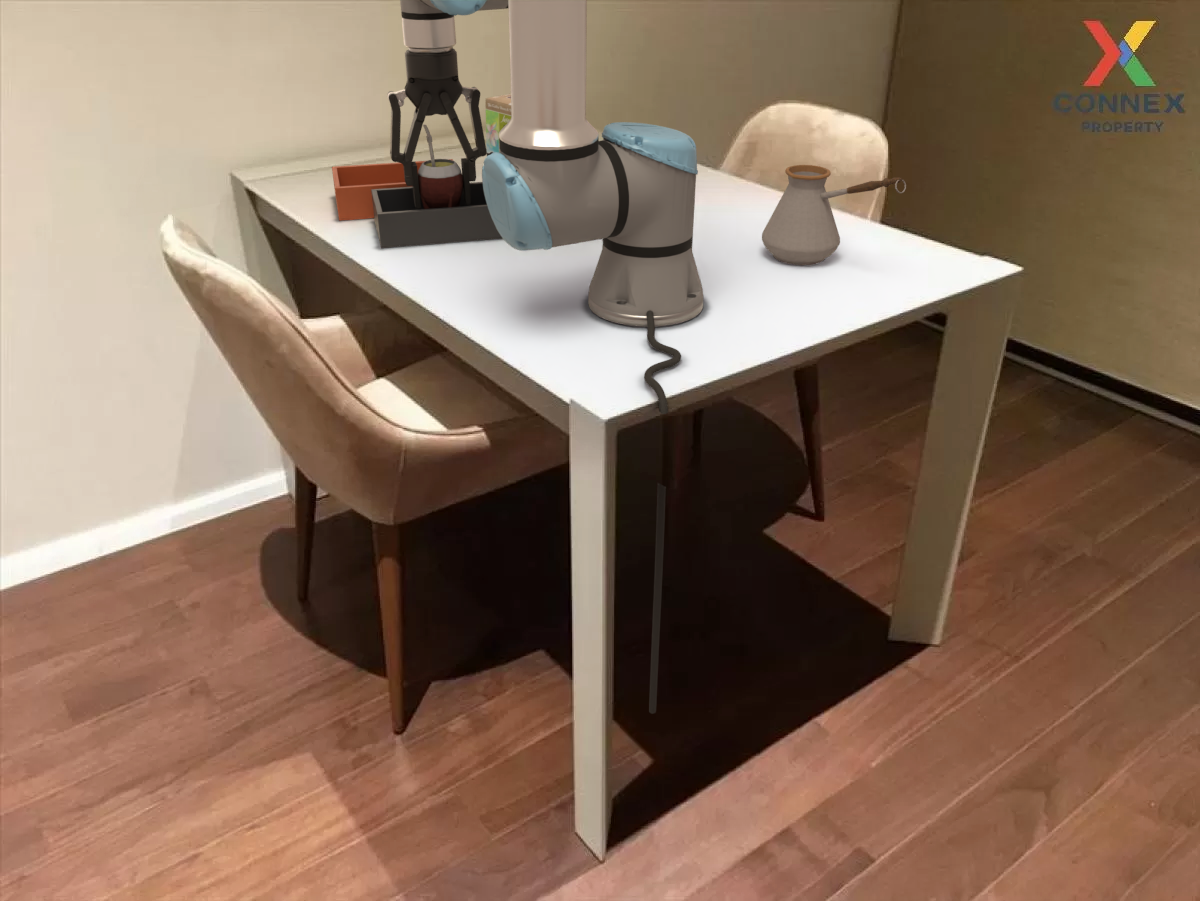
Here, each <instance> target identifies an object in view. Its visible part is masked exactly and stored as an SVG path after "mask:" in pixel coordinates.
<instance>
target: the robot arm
mask: <svg viewBox="0 0 1200 901" xmlns="http://www.w3.org/2000/svg"><path fill="white" fill-rule="evenodd" d="M399 2H400V3H399V4H400V13H401V26H402V37H403V46H404V47H406V48H408V49H406V50H405V52H404V61H405V72H406V84H405V86H404V89H400V90H397V91H394V90H389V91H388V92H387V93H386V94H387V96H386V97H387V99H388V103H389V105H390V138H389V156H390V159H391V161H392V162H393V163H398V162H399V163H402V164H403V168H404V179H405V183H406V185H407V186H412V187H413V198H414V205H415V207H416V208H421V205H420V193H419V182H418V171H417V164H416V162H415V161H413V160H414V156H415V153H416V149H417V146H418V142H419V140H420V135H421V131H422V129H423V125H424V122H425V119H426V117H432V116H435V115H440V116H447V118H448V120H449V122H450V124H451V126H452V128H453V130H454V133H455V136H456V138H457V139H458V142H459V144H460V146H461V148H462V151H463V153H464V154H465V157H463V158H462V157H461V158H460V164H461V167H460V168H461V173H462V176H463V182H464V183H463V196H464V201H465V203H466V205H468V204H471V195H470V183H471V182H476V180H477V170H476V169H477V167H476V166H477V165H476V161H477V159H479V158H481V157H485V156H486V157H485V158H484V160H483V165H482V168H481V182H483V189H484V195H485V199H486V203H487V206H488V209H489V212H490V215H491V217H492V220H493V222H494V224H495V226H496V228H497V230H498V232H499V234H500V235H501V237H502V238H503V241H504V242H505V243H506V244H507V245H509V246H510V247H511V248H512V249H515V250H517V251H522V252H524V251H535V250H545V251H549V250H551V249H552V248H559V247H564V246H569V245H574V244H575V245H576V244H580V243H587V242H592V241H598V240H602V245H601V251H600V254H599V258H598V260H597V263H596V267H595V269H594V272H593V276H592V278H591V281H590V284H589V288H588V302H587V303H588V307H589V309H590V311H591V312H592V313H593V314H594V315H596V316H597V317H600V318H601V319H603V320H606V321H608V322H612V323H614V324H615V323H616V324H619V325H623V326H630V327H642V328H645V327H646V328H647V330H646V338H647V342H648V344H649V345H650V346H651V348H653V349H654V350H656V351H659V352H661V353H664V354H667V355H670V356H671V358H668V359H666V360H662V361H660V362H658V363H657V362H656V363H655V364H652V365H651V366H649V367H648V368H647V369H646V370H645V372H644V375H643V379H644V382H645V383H646V384H647V385H648V386H649V387H650V388H651V389H652V390H653V391H654V393H655V395H656V397H657V402H658V409H659V413H660V414H661V415H667V414H668V413H669V408H668V400H667V395H666V393H665V390H664V388H663V386H662V385H661V384H660V383H659V381H658V380H656V379H655V378H654V377H653V375H655V373H658V372H660V371H663V370H667V369H669V368H671V367H675V366H676V365H678V364H679V363H680V362H681V359H682V354H681V352H680V351H679V350H678V349H677V348H675V347H671V346H668V345H666V344H663V343H661V342H659V341H658V340H657V339H656V337H655V334H656V327H667V326H672V325H677V324H681V323H684V322H687V321H689V320H692V319H693V318H696V317H697V316H699V314H700V313H701V312H702V311H703V308H704V289H703V285H702V281H701V277H700V274H699V270H698V267H697V263H696V260H695V257H694V253H693V240H694V239H693V237H694V224H695V223H694V221H695V203H696V186H697V175H698V174H699V170H698V156H697V155H698V154H697V145H696V143H695V140H694V139H693V138H692V137H691V136H690V135H688V134H687V133H685V132H683V131H680V130H678V129H675V128H671V127H668V126H662V125H657V124H651V123H644V122H631V121H617V122H611V123H609V124H608V123H607V124H606V125H604V127H603V130H602V132H601V137H602V140H599V136H600V135H599V132H598V130H597V129H596V128H595V127H594V126H593V125H592V124H591V122H589V121H588V119H587V40H588V39H587V36H588V34H587V29H588V26H587V22H588V18H587V17H588V0H399ZM505 9H506V10H508V40H509V41H508V42H509V73H510V74H509V77H510V94H511V116H512V117H511V119H510V121H509V122H508V123H507V124H506V125H505V126H504V127H503V128H502V129H501V130H500V132H499V153H498V152H493V153H492V154H491V155H488V156H487V150H486V138H485V134H484V128H483V124H482V117H481V112H480V100H481V91H480V90H479V88H478V87H476V86H472V87H468V86H463V85H462V83H461V82H460V79H459V67H458V66H459V65H458V51H457V50H456V49H455V48H454V46H455V45H456V44H457V36H456V35H457V34H456V22H455V21H456V20H455V17H457V16H470V15H472V14H475V13H476V12H481V11H495V10H505ZM461 95H463V97H464V100H465V102H466V103H468V111H469V115H470V122H471V126H472V130H473V131H472V133H473V138H474V142H475V147H474V148H472V145H471V143H470V141H469V139H468V137H467V134H466V132H465V130H464V127H463V125H462V124H461V120H460V119H459V116H458V114H457V112H456V110H455V108H454V107H455V105H456V104H457V103H458V101H459V99H460V97H461ZM406 98H407V99H408V100H409V101H410V102H411V103H412V105H413V106H414V108H415V109H414V112H413V117H412V122H411V124H410V128H409V132H408V136H407V139H406V142H405V146H404V149H403V152H401V125H402V124H401V120H402V119H401V118H402V115H401V114H402V112H401V110H402V109H401V108H402V107H403V106H404V105H405V99H406ZM666 489H667V486H665V485H664V484H661V483H659V482H657V492H656V525H655V526H656V527H655V531H656V532H655V553H654V578H653V601H652V627H651V649H650V674H649V675H650V676H649V699H648V712H649V713H650V714H651V715H653V714H656V713H657V697H658V678H659V676H658V673H659V657H660V656H659V654H660V633H661V632H660V631H661V612H662V611H661V610H662V591H663V572H664V571H663V570H664V569H663V567H664V547H665V546H664V545H665V521H666Z"/></svg>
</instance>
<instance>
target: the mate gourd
mask: <svg viewBox="0 0 1200 901" xmlns="http://www.w3.org/2000/svg"><path fill="white" fill-rule="evenodd" d="M422 128H423V129H424V132H425V134H426V142H427V144H428V150H429V155H430V159H428V160H424V161H425V162H423V163H422V164H421V166H420V168H419V170H418V182H419V192H420V195H421V201H422V204H423V206H424V209H435V208H449V207H459V206H460V200H461V195H462V191H463V183H464V182H463V176H462V168H461V167H460V166H459V164H458V162H456V161H455V160H454V159H453V160H449V159H450V158H435V154H434V147H433V136H432V135H431V133H430V130H429V127H428V126H427V124H424V123H423V125H422Z"/></svg>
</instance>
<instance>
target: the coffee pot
mask: <svg viewBox="0 0 1200 901" xmlns="http://www.w3.org/2000/svg"><path fill="white" fill-rule="evenodd" d="M784 172H785V174H786V175H787V180H788V184H787V186H786V188H785V190H784V192H783V194H782V195H781V198H780V199H779V201H778V203H777V205H776V206H775V208H774V211H773V212H772V213H771V216H770V218H769V219H768V222H767V223H766V225H765V227H764V229H763V231H762V233H761V240H762V243H763V246H764V247H765V248H766V250H767V251H768V252H769V253H770V254H772V257H773V258H774V259H775V260H777V261H779V262H781V263H784V264H788V265H793V266H794V265H795V266H813V265H818V264H820V263H823V262H824V261H825V259H827V258H829V257H830V256H831V255H833V254H834V253H835V251H836V250H837V249H838V247H839V245H840V244H841V237H840V233H839V230H838V227H837V223H836V220H835V216H834V214H833V211H832V207H831V203H830V200H829V199H831V198H835V197H840V196H845V195H850V194H858V193H865V192H872V191H875V190H878V189H879V188H880V189H881V188H883V187H884V188H889V187H890V186H891V185H894V189H895V191H896V192H897V193H898V194H903V193H905V191H906V189H907V183H906V181H905V180H904V179H902V177H899V176H898V177H892V178H887V177H885V178H883V179H882V180H870V181H866V182H863V183H860V184H859V183H858V184H856V185H852V186H849V187H845V188H842V189H836V190H830V191H827V190H826V187H825V185H826V182H827V179H828V178H829V177H830V176H831V175H832V174H831V173H832V172H831V170H830V169H828V168H827V167H823V166H819V165H813V164H795V165H790V166H787V167H786V168H785V169H784ZM901 182H903V184H904V188H903V190H902V191H899V190H898V184H900V183H901Z"/></svg>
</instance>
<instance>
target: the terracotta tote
mask: <svg viewBox="0 0 1200 901" xmlns="http://www.w3.org/2000/svg"><path fill="white" fill-rule="evenodd" d="M448 159H449V160H453V161H454V159H453V158H448ZM425 161H426V160H418V161H417V160H416V161H415V162H416V164H417V171H418V170H419V168H420V166H421V164H422V163H423V162H425ZM331 172H332V179H333V180H332V181H333V187H334V188H333V189H334V195H335V202H336V209H337V215H338V221H353V220H354V221H355V220H365V219H374V212H373V202H372V193H371V189H385V188H399V187H412V186H407V185H406V183H405V179H404V168H403V164H402V163H399V162H384V163H370V164H369V163H368V164H352V165H337V166H331Z"/></svg>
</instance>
